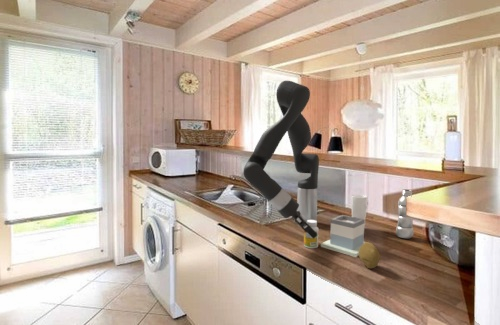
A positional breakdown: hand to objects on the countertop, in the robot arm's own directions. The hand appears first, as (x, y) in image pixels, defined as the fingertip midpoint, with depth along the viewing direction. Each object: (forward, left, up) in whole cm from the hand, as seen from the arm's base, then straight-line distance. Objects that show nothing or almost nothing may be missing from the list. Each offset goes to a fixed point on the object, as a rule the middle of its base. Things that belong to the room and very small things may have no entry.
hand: (313, 232), depth 116 cm
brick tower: (+10, +9, -5) cm, 14 cm away
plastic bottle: (+22, +36, -5) cm, 42 cm away
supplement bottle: (0, 0, -5) cm, 5 cm away
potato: (+23, -3, -5) cm, 24 cm away
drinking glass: (+3, +34, -5) cm, 34 cm away
